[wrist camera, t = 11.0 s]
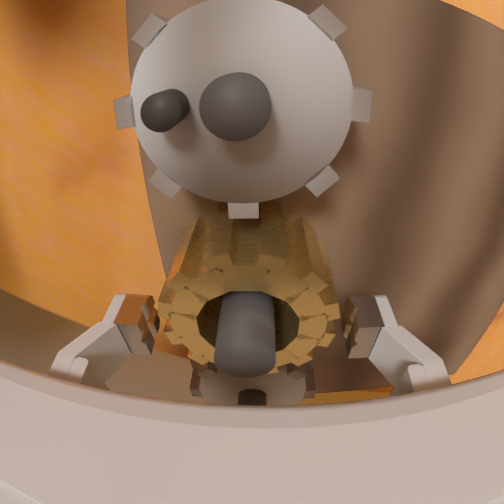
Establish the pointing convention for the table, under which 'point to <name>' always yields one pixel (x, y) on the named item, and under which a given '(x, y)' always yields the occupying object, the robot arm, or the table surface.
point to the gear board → (328, 165)
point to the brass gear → (251, 282)
